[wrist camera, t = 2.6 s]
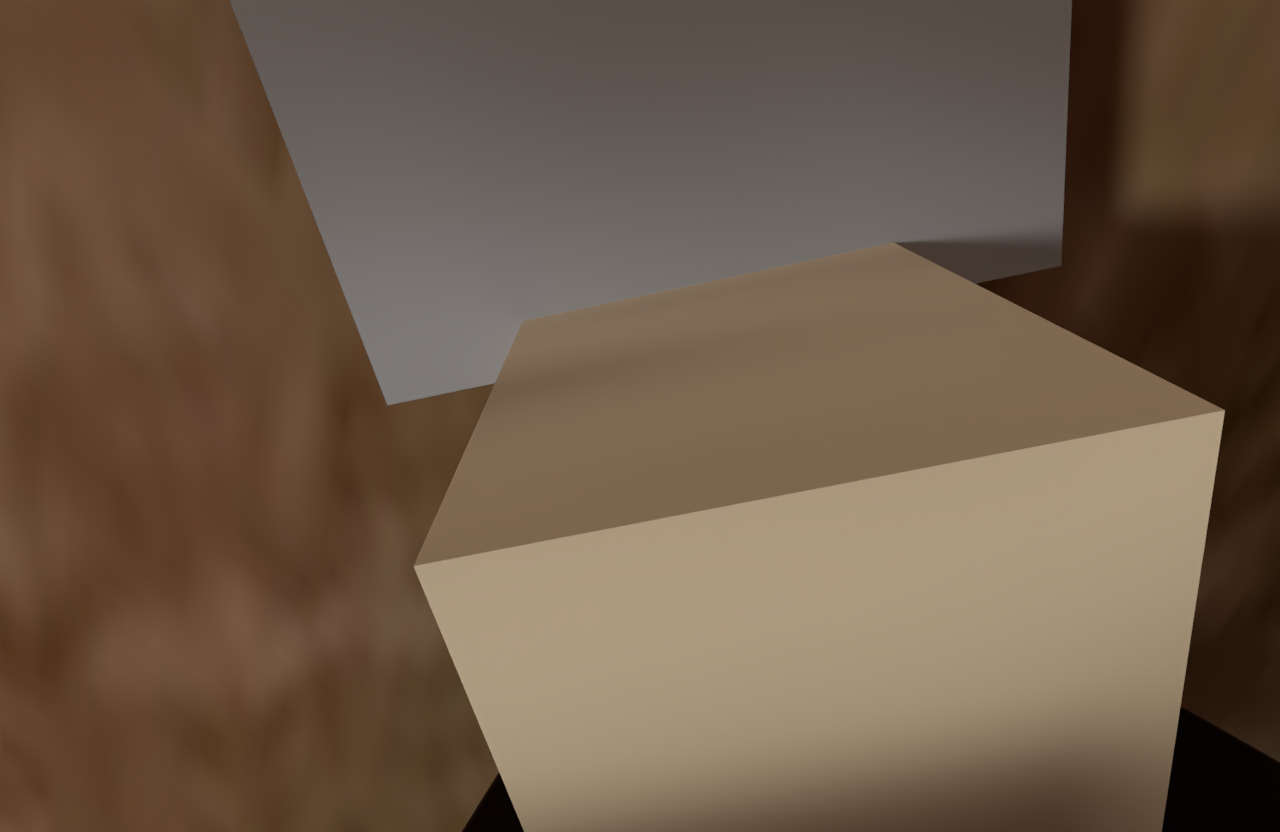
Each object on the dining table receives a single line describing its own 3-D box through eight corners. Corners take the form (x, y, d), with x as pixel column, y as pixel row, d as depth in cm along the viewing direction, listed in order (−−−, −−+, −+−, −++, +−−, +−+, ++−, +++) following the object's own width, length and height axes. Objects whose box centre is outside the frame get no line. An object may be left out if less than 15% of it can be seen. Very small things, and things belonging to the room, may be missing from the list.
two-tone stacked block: (999, 717, 10) (1289, 1186, 5) (570, 791, 10) (535, 1282, 6) (1006, -373, 5) (2677, -2424, 1) (224, -168, 5) (-1033, -1025, 1)
